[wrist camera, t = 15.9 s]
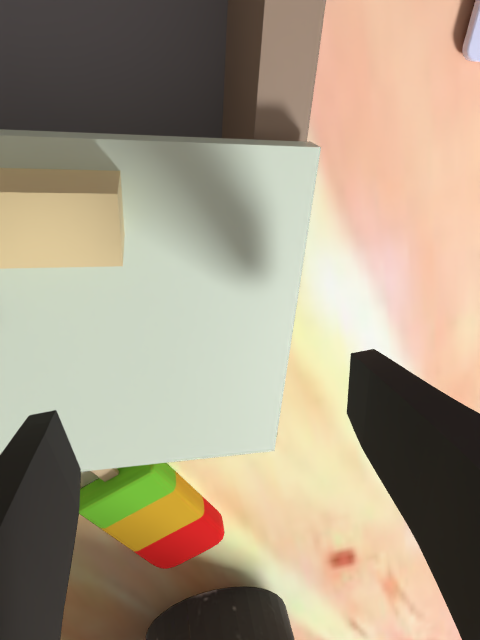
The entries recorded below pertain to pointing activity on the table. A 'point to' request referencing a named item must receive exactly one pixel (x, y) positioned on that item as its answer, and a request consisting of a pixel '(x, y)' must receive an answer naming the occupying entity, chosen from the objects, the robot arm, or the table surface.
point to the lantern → (225, 617)
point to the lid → (150, 290)
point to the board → (160, 67)
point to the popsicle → (152, 513)
